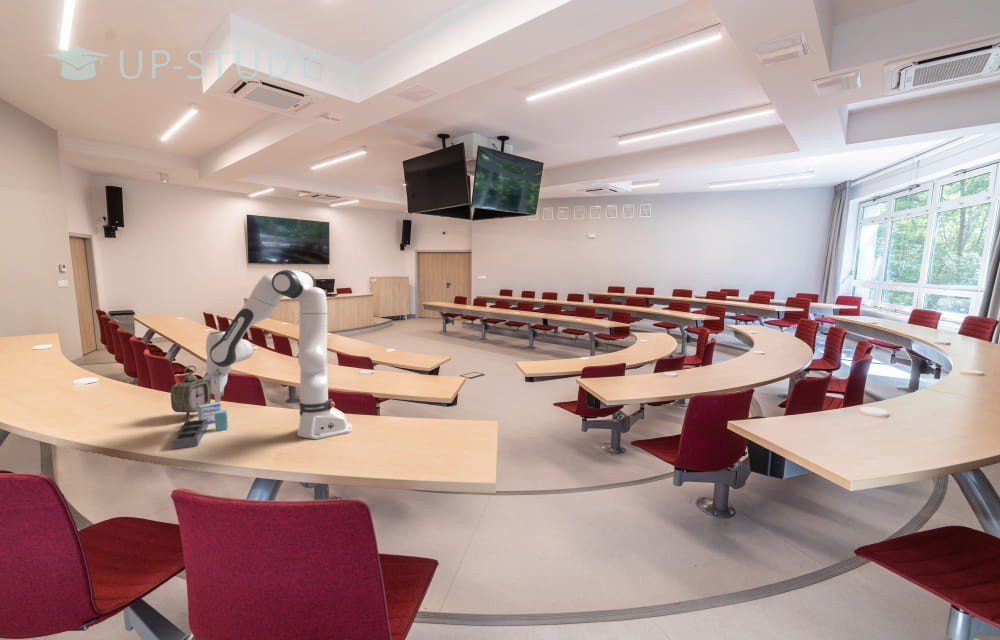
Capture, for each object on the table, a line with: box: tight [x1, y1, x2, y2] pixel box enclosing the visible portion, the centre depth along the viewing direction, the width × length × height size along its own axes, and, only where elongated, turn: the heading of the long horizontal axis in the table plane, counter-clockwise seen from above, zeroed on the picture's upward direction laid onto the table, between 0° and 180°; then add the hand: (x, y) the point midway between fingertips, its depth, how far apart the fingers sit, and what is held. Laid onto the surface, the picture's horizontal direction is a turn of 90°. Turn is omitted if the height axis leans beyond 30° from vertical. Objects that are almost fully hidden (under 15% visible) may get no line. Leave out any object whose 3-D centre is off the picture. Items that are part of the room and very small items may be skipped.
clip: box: [214, 409, 229, 432], centre depth 184 cm, size 4×4×8 cm
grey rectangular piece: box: [171, 419, 209, 450], centre depth 174 cm, size 8×24×4 cm, turn 27°
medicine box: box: [197, 401, 222, 425], centre depth 192 cm, size 8×4×9 cm, turn 143°
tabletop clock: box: [170, 365, 212, 421], centre depth 198 cm, size 14×9×25 cm, turn 179°
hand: (219, 398), depth 183 cm, fingers open, 8 cm apart
